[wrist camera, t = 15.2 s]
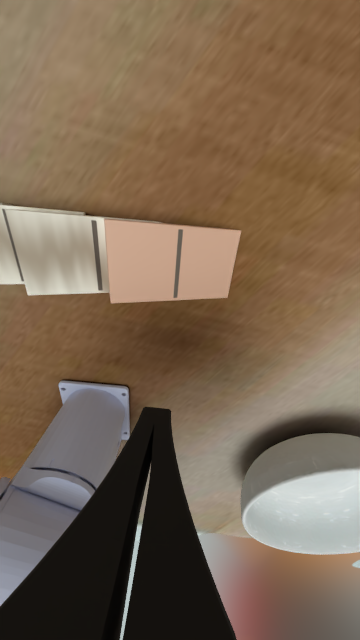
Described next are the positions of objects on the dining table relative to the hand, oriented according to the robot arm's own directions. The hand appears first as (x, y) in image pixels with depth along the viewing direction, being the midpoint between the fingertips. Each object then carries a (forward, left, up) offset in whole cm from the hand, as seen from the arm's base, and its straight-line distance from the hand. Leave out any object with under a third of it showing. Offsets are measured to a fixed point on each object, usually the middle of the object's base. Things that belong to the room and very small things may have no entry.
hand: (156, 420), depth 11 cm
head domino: (+7, -4, -10) cm, 12 cm away
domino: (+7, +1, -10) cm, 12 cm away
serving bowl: (-19, -21, -11) cm, 30 cm away
